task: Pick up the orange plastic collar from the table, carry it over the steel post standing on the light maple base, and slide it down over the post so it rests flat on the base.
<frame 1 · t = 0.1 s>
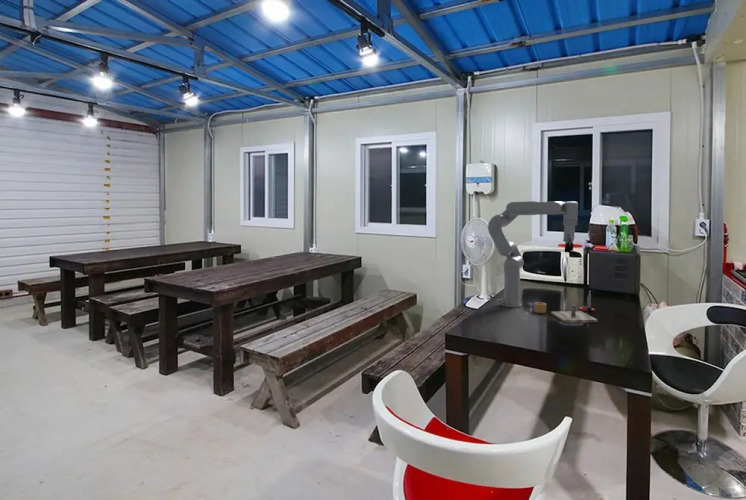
hand: (568, 251, 251), 37 cm above the table, tool pointing down, fingers open, 9 cm apart
collar: (540, 311, 258), on the table
tow hook: (586, 310, 260), on the table
post base: (573, 318, 243), on the table
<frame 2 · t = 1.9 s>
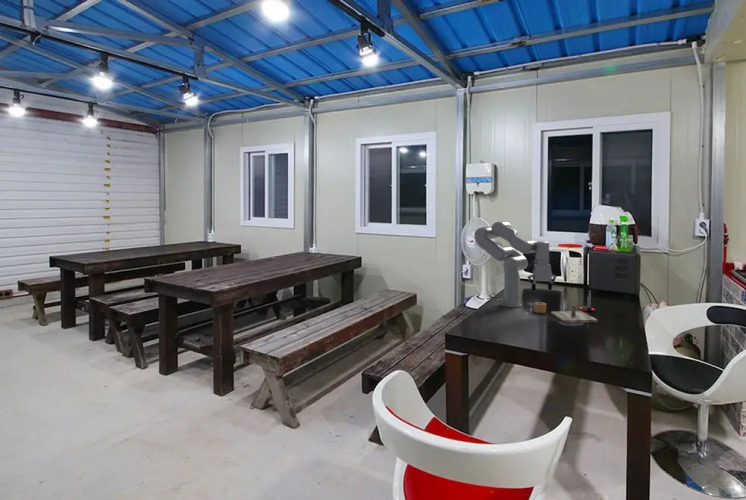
hand: (541, 289, 256), 14 cm above the table, tool pointing down, fingers open, 9 cm apart
nothing on the table moved.
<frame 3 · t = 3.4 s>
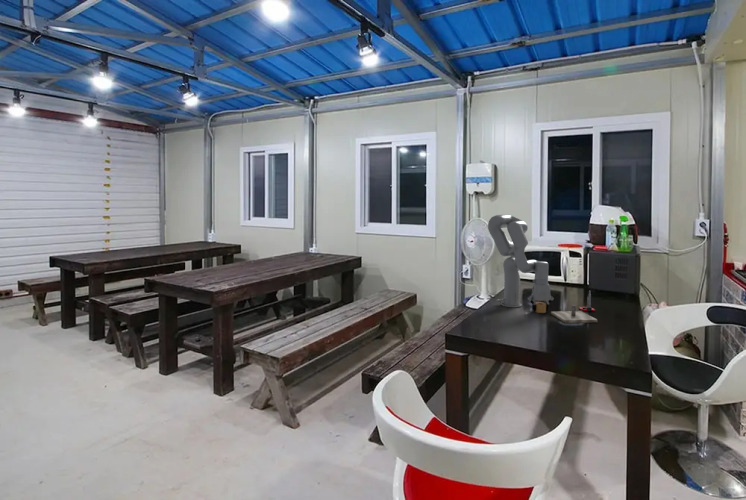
hand: (540, 310, 258), 1 cm above the table, tool pointing down, fingers closed on collar, 6 cm apart
collar: (540, 311, 258), on the table, touching gripper
everything else where it was.
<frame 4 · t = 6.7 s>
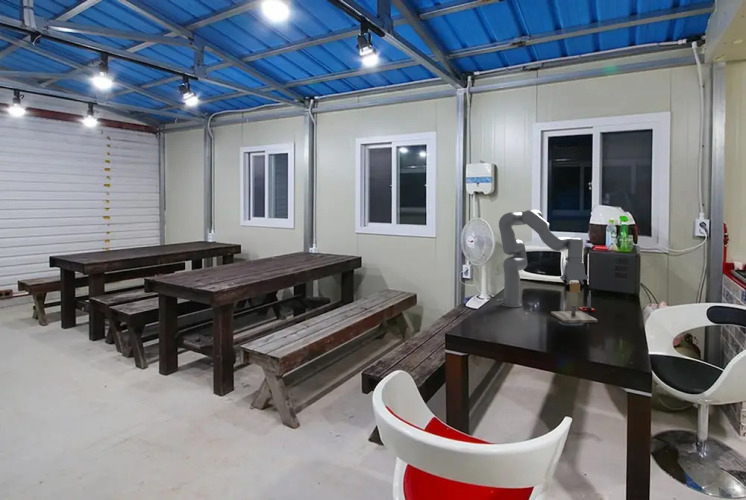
hand: (573, 290, 241), 16 cm above the table, tool pointing down, fingers closed on collar, 6 cm apart
collar: (573, 291, 241), point 15 cm above the table, touching gripper
everything else where it was.
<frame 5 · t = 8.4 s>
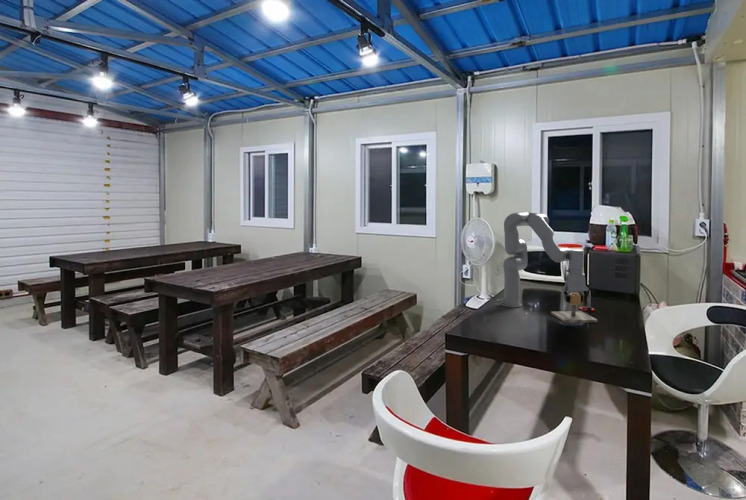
hand: (574, 301, 242), 10 cm above the table, tool pointing down, fingers closed on collar, 6 cm apart
collar: (574, 303, 242), point 9 cm above the table, touching gripper
everything else where it was.
when the fingers open (4 cm above the table, at t = 10.0 s): collar drops 2 cm, resting on post base.
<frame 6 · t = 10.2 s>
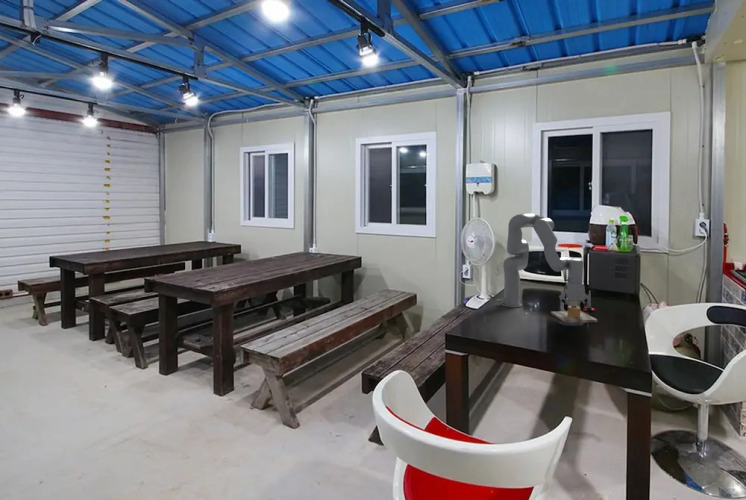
hand: (573, 310, 242), 5 cm above the table, tool pointing down, fingers open, 8 cm apart
collar: (573, 315, 243), point 1 cm above the table, touching post base
everything else where it was.
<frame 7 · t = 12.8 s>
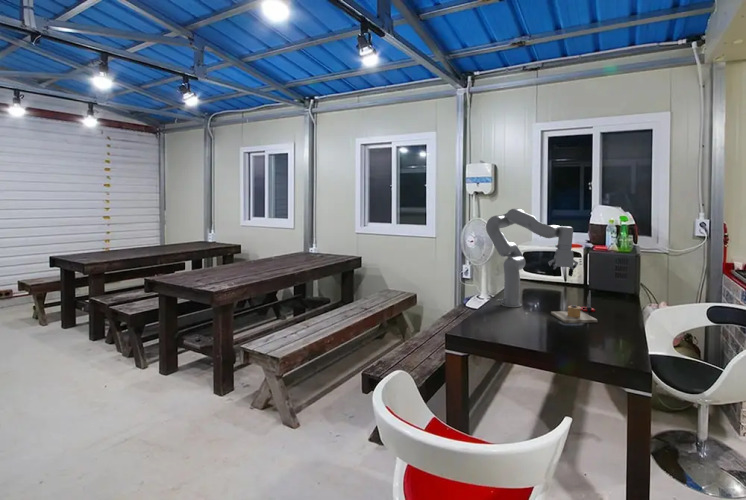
hand: (562, 275, 251), 23 cm above the table, tool pointing down, fingers open, 9 cm apart
nothing on the table moved.
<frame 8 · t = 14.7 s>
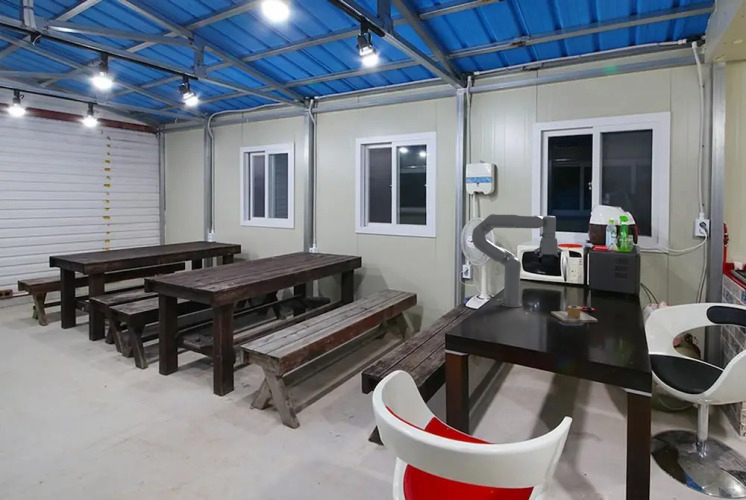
hand: (547, 263, 264), 28 cm above the table, tool pointing down, fingers open, 9 cm apart
nothing on the table moved.
at the end: collar 0.3 cm off-centre on the post base, point 1.5 cm above the post base's base; collar tilted 0°; the gripper is holding nothing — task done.
